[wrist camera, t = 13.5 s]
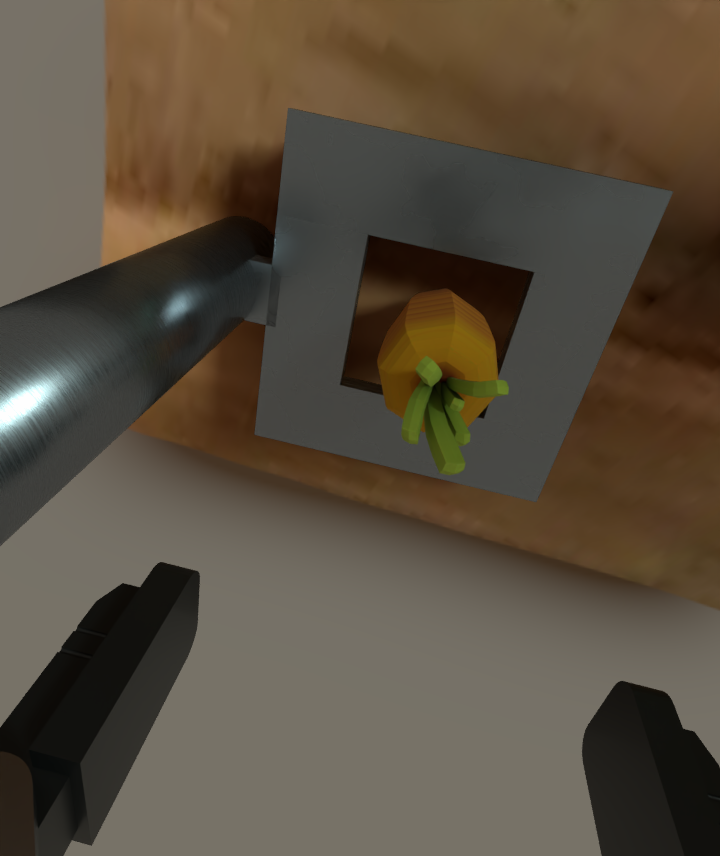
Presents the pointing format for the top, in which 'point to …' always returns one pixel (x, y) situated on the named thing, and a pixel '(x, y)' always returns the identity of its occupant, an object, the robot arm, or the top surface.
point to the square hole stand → (330, 310)
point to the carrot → (439, 373)
